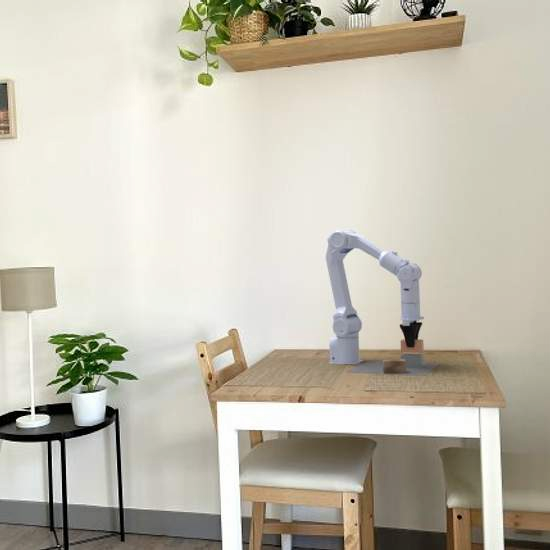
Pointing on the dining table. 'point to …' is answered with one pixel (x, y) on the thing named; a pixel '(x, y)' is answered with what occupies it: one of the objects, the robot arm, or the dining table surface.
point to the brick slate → (413, 360)
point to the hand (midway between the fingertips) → (411, 346)
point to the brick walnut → (394, 366)
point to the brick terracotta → (416, 349)
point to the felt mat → (378, 369)
